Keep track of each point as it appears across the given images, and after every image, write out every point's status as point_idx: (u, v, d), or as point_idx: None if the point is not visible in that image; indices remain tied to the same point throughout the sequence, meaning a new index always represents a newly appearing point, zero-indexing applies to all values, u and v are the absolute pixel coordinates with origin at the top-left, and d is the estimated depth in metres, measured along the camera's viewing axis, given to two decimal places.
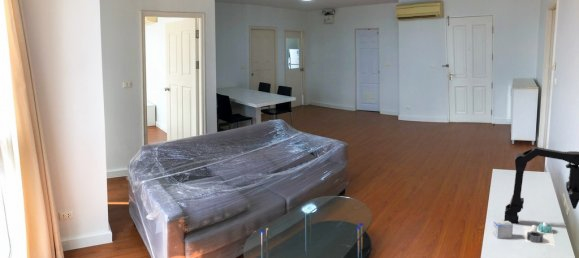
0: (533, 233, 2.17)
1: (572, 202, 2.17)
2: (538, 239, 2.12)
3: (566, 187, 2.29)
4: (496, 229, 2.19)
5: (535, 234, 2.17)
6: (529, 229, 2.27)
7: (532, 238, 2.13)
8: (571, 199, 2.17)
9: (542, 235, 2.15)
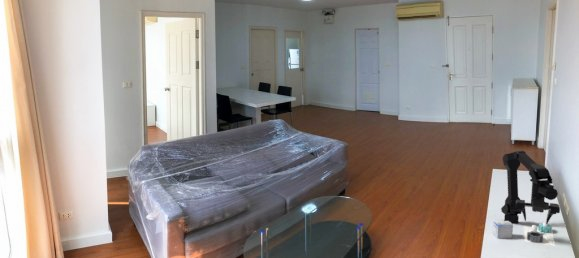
0: (533, 233, 2.17)
1: None
2: (538, 239, 2.12)
3: None
4: (496, 229, 2.19)
5: (535, 234, 2.17)
6: (529, 229, 2.27)
7: (532, 238, 2.13)
8: None
9: (542, 235, 2.15)
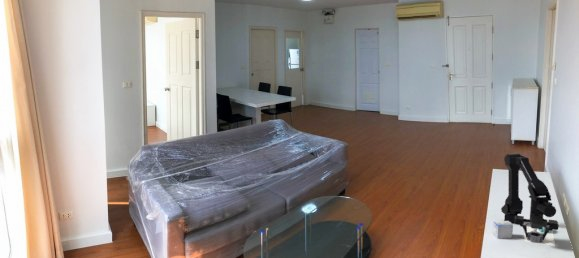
0: (533, 233, 2.17)
1: None
2: (538, 239, 2.12)
3: None
4: (496, 229, 2.19)
5: (535, 234, 2.17)
6: (529, 229, 2.27)
7: (532, 238, 2.13)
8: None
9: (542, 235, 2.15)
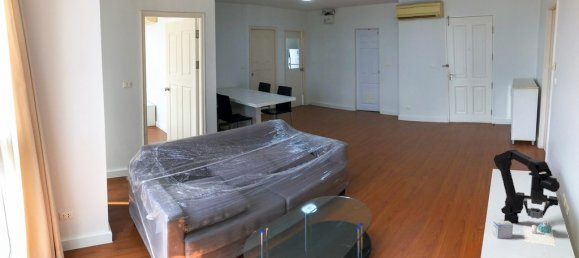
0: (533, 209, 2.22)
1: None
2: (538, 215, 2.17)
3: None
4: (496, 229, 2.19)
5: (535, 210, 2.22)
6: (529, 229, 2.27)
7: (532, 214, 2.18)
8: None
9: (542, 211, 2.19)
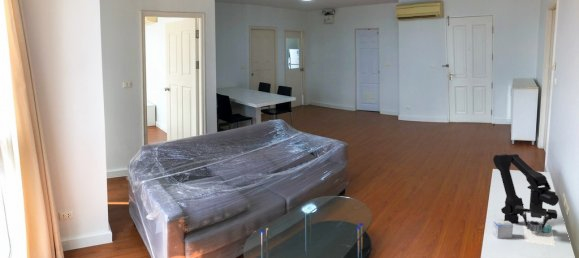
0: (533, 222, 2.24)
1: None
2: (537, 228, 2.19)
3: None
4: (496, 229, 2.19)
5: (535, 223, 2.24)
6: None
7: (532, 227, 2.20)
8: None
9: (541, 224, 2.21)
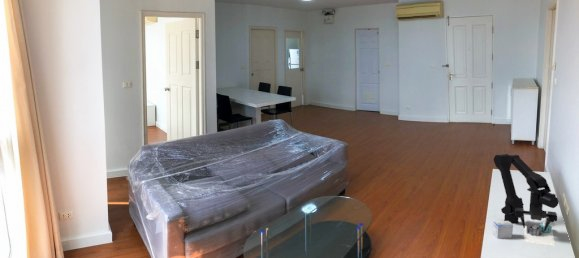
0: None
1: None
2: (537, 232, 2.19)
3: None
4: (496, 229, 2.19)
5: None
6: None
7: (531, 231, 2.20)
8: None
9: (541, 228, 2.22)
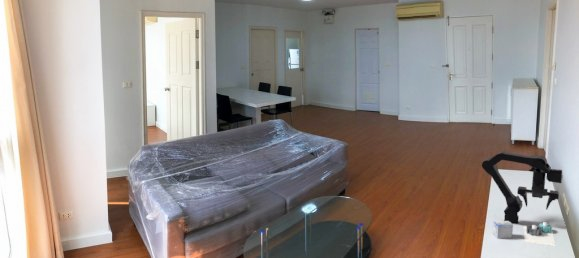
0: None
1: None
2: (537, 232, 2.19)
3: None
4: (496, 229, 2.19)
5: None
6: None
7: (531, 231, 2.20)
8: None
9: (541, 228, 2.22)
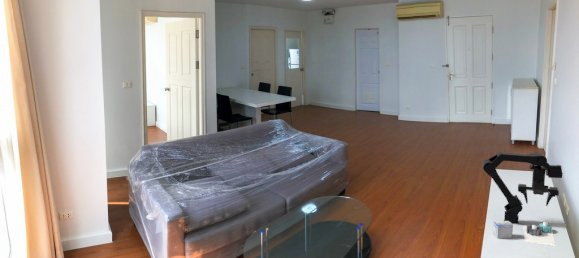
0: None
1: None
2: (537, 232, 2.19)
3: None
4: (496, 229, 2.19)
5: None
6: None
7: (531, 231, 2.20)
8: None
9: (541, 228, 2.22)
